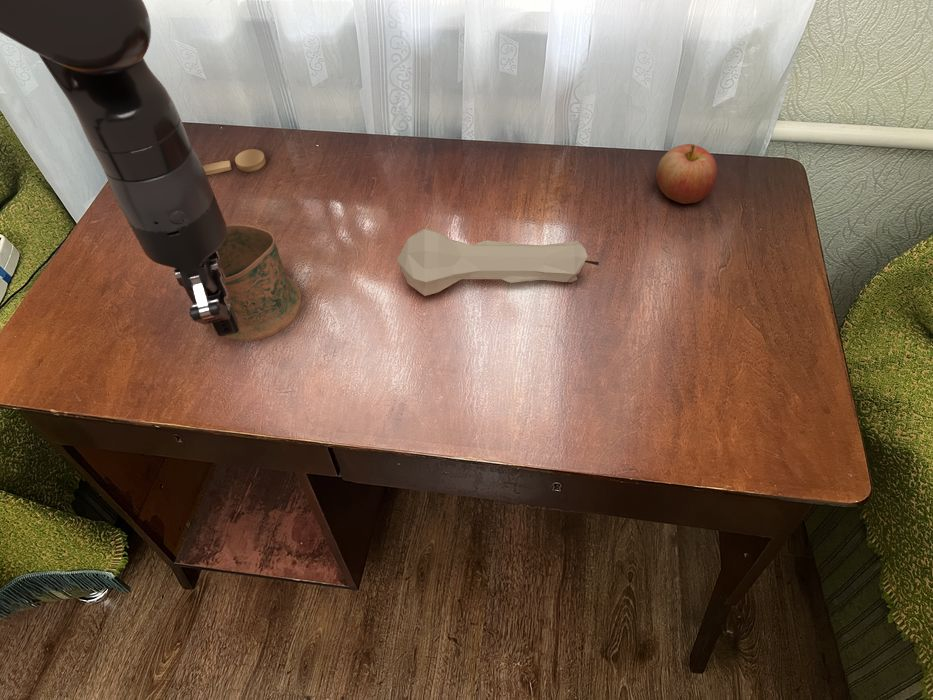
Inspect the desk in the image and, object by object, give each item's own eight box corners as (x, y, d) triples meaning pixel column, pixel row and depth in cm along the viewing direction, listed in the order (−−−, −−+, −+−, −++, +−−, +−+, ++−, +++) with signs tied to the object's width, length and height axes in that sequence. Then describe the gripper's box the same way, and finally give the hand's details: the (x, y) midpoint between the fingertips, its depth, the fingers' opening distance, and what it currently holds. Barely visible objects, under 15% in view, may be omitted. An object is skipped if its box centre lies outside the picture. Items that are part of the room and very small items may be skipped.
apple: (655, 173, 101) (666, 125, 95) (712, 182, 100) (726, 133, 93) (648, 208, 96) (658, 159, 90) (707, 217, 95) (722, 169, 89)
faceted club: (399, 252, 91) (589, 249, 92) (399, 310, 88) (595, 307, 88) (395, 213, 83) (602, 211, 84) (394, 276, 80) (610, 273, 80)
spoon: (164, 190, 102) (162, 184, 102) (163, 172, 105) (161, 167, 104) (267, 168, 105) (265, 162, 104) (263, 152, 108) (262, 146, 107)
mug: (218, 247, 94) (188, 173, 85) (320, 293, 88) (299, 219, 79) (154, 301, 88) (114, 229, 79) (258, 354, 82) (228, 283, 73)
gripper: (123, 164, 63) (189, 295, 77) (123, 260, 55) (196, 387, 69) (206, 147, 65) (257, 279, 78) (218, 238, 57) (272, 367, 70)
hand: (228, 329), depth 73 cm, fingers closed
